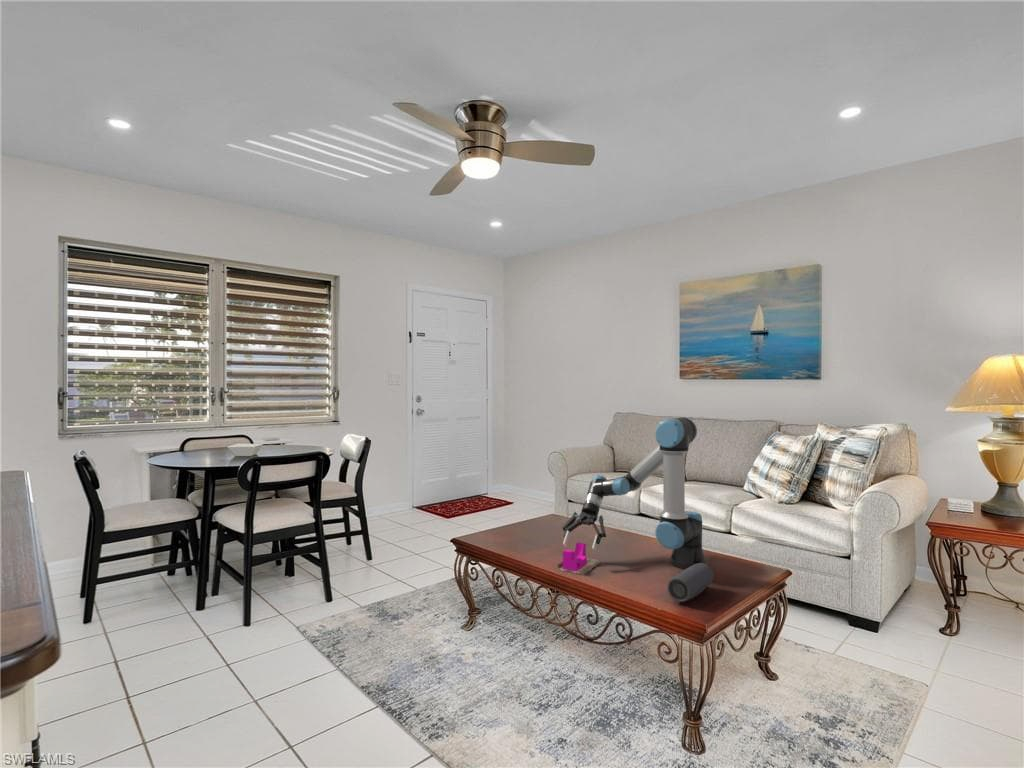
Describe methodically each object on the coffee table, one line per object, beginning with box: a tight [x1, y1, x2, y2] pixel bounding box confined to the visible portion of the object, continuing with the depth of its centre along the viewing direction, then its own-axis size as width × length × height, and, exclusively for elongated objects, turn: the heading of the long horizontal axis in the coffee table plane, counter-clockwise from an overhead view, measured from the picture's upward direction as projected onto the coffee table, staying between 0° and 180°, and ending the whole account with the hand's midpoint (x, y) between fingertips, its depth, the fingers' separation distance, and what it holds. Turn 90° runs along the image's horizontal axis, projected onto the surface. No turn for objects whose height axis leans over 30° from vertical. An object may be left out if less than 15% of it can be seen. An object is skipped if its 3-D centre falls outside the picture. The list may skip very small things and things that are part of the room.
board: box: [557, 557, 601, 576], centre depth 235 cm, size 12×18×2 cm, turn 149°
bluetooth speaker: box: [667, 563, 714, 603], centre depth 202 cm, size 23×9×10 cm, turn 139°
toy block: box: [562, 541, 588, 571], centre depth 233 cm, size 15×6×8 cm, turn 148°
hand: (578, 547), depth 234 cm, fingers open, 13 cm apart
